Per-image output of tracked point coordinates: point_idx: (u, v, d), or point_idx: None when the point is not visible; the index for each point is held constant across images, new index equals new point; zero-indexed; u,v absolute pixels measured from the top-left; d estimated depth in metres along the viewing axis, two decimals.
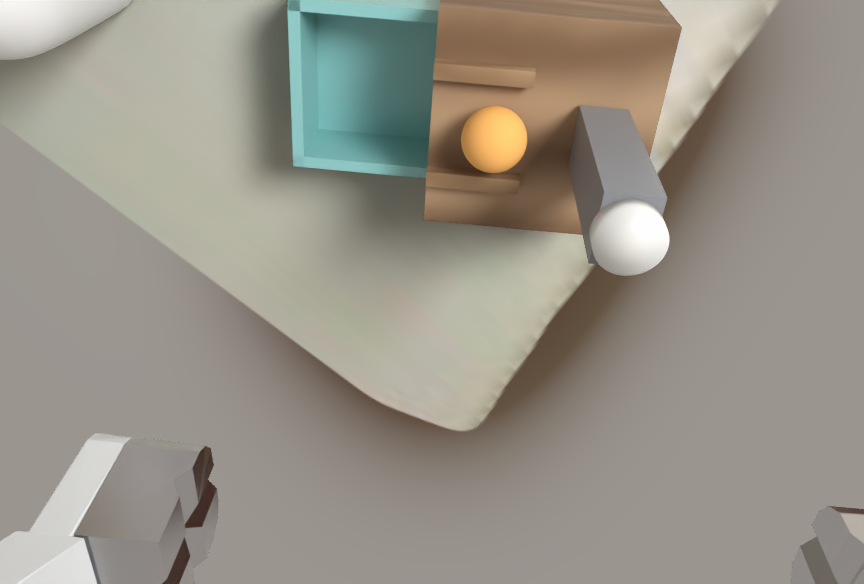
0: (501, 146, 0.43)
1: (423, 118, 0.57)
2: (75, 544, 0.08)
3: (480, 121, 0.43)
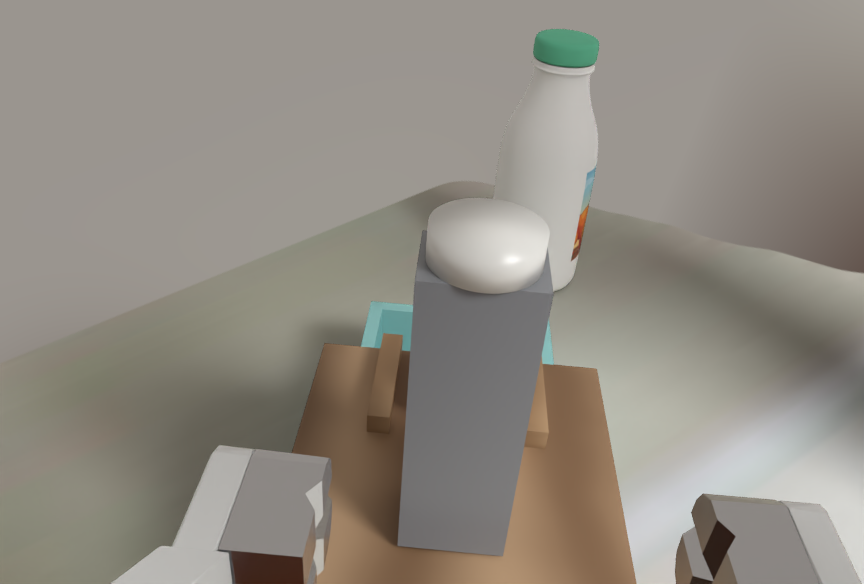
0: None
1: None
2: (220, 559, 0.08)
3: None
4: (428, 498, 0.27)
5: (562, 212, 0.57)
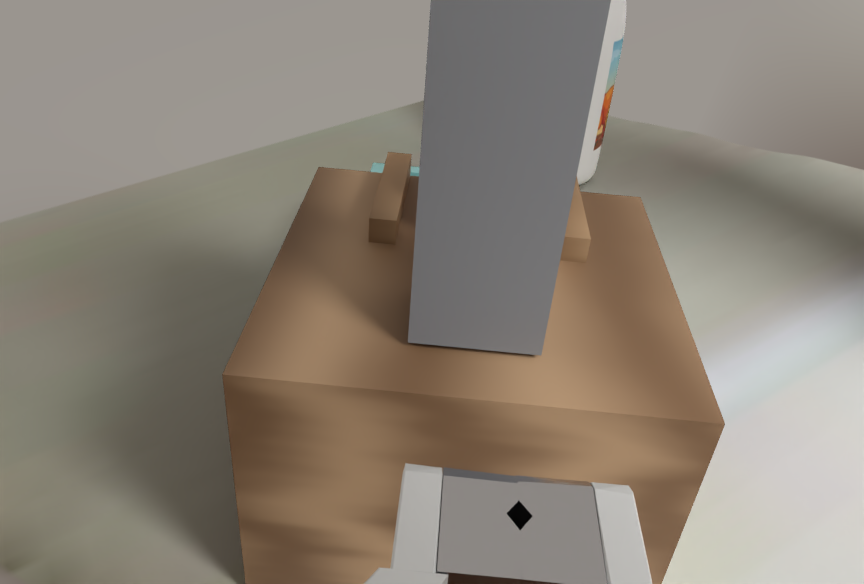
0: None
1: None
2: (440, 581, 0.08)
3: None
4: (448, 265, 0.21)
5: None
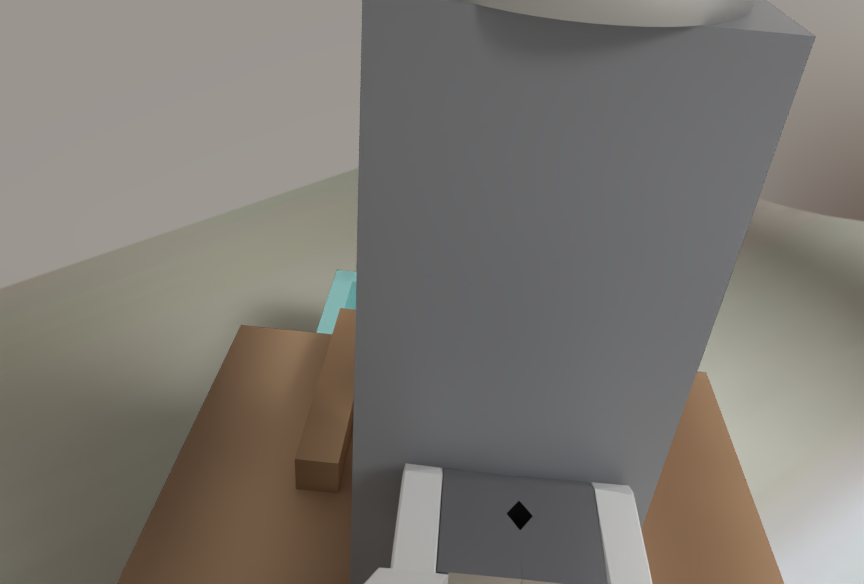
0: None
1: None
2: (440, 581, 0.08)
3: None
4: None
5: None
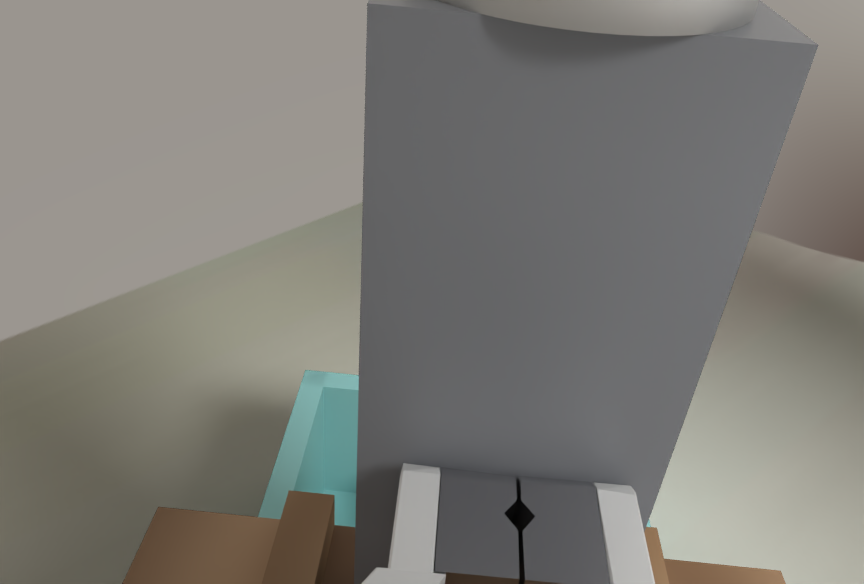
0: None
1: None
2: (438, 581, 0.08)
3: None
4: None
5: None
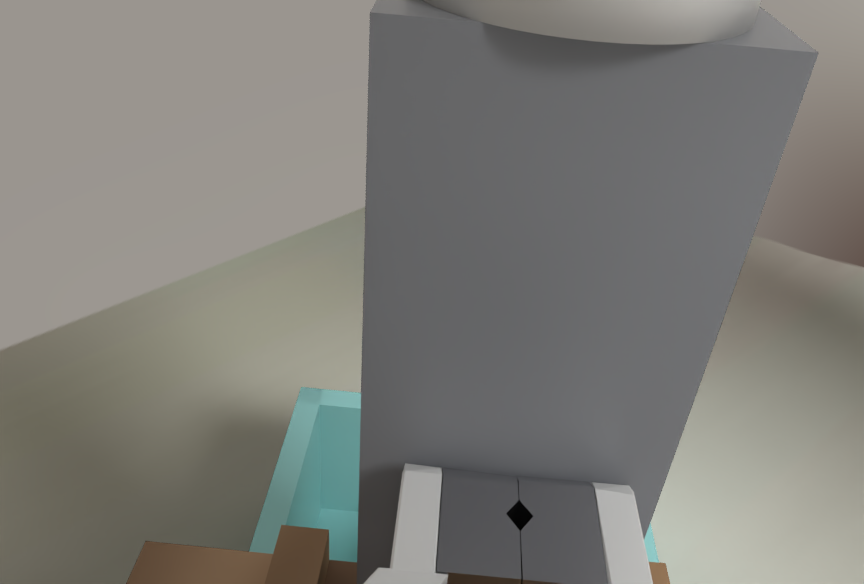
0: None
1: None
2: (440, 581, 0.08)
3: None
4: None
5: None
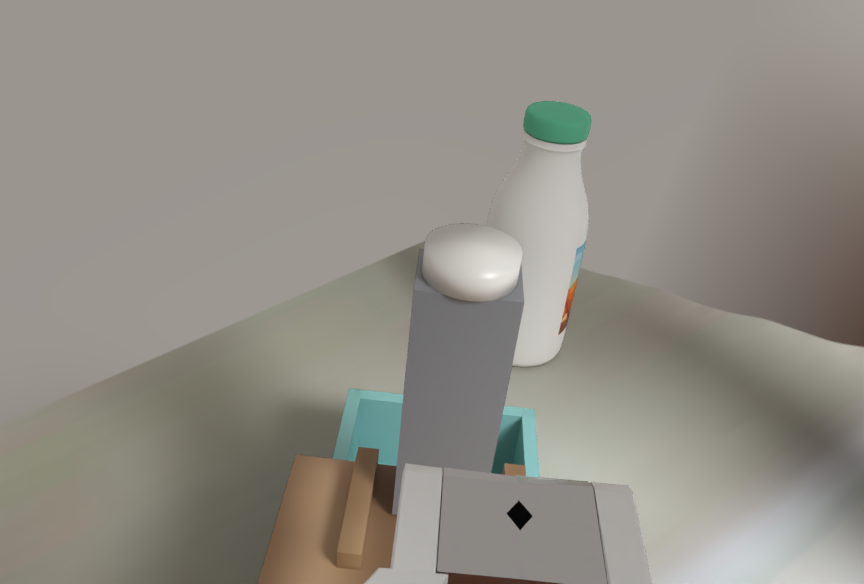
0: None
1: None
2: (440, 581, 0.08)
3: None
4: None
5: (550, 288, 0.55)
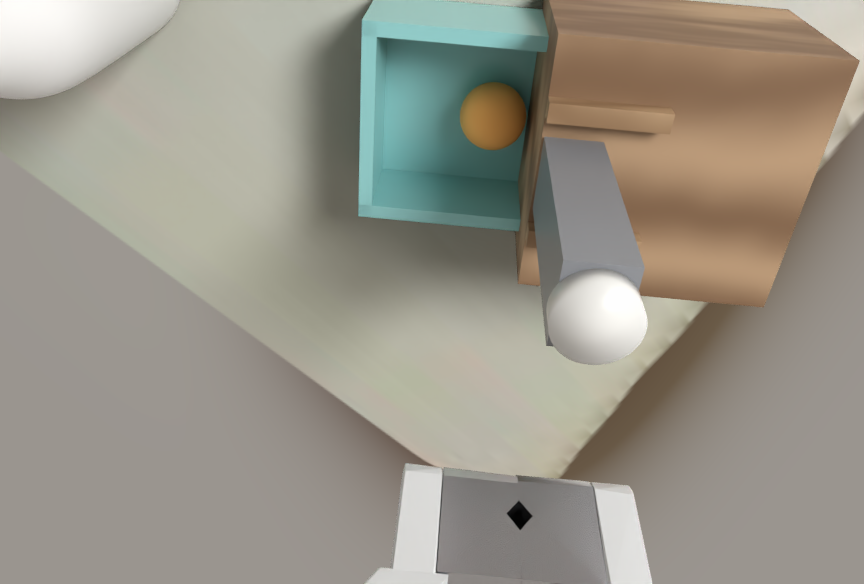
0: None
1: (506, 157, 0.48)
2: (440, 581, 0.08)
3: (518, 94, 0.44)
4: None
5: None
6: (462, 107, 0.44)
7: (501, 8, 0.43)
